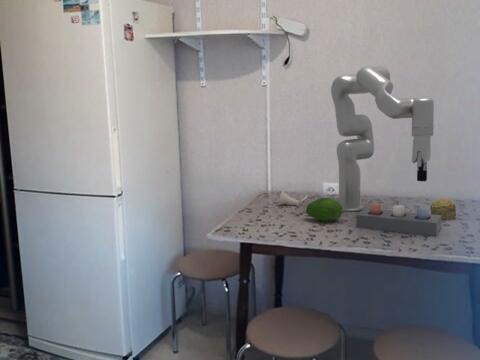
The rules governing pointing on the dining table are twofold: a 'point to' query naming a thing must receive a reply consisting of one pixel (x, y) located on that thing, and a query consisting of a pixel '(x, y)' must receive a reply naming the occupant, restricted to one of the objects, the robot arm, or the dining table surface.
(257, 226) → the dining table surface
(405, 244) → the dining table surface
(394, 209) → the white rounded oval piece
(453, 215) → the rock
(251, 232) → the dining table surface
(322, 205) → the fruit
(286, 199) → the toilet paper hanger
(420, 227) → the grey rectangular block
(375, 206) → the brown egg
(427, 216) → the light blue rounded cylinder
